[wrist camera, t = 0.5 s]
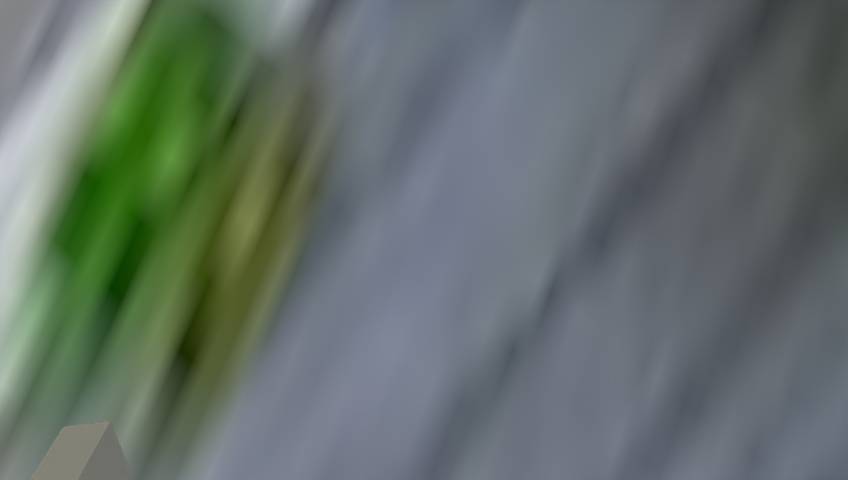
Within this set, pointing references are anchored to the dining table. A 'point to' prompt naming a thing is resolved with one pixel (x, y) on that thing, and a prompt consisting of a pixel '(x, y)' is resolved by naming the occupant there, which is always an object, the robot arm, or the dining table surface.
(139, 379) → the dining table surface
